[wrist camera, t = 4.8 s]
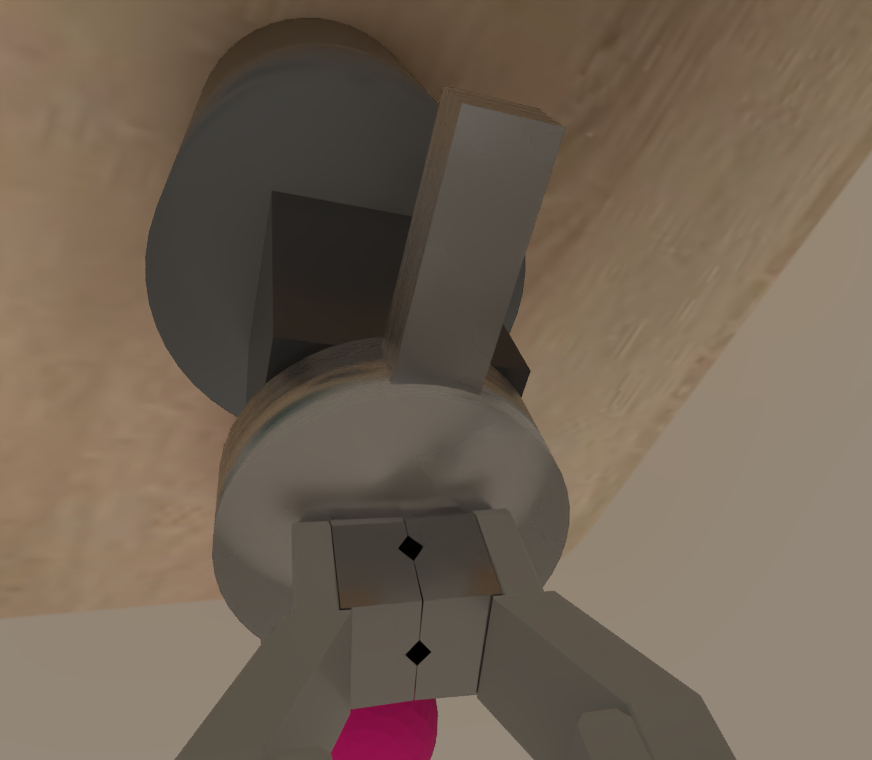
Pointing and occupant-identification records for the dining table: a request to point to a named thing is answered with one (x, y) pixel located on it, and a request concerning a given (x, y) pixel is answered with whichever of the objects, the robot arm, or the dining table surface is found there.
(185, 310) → the dispenser
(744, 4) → the dining table surface
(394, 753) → the pepper mill
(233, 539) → the pump head
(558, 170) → the dining table surface
